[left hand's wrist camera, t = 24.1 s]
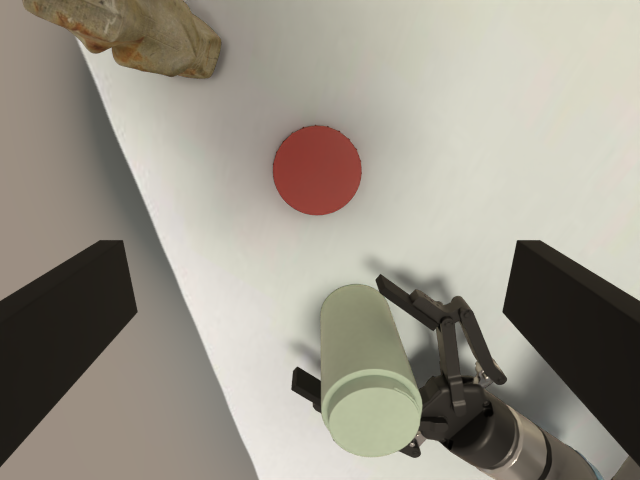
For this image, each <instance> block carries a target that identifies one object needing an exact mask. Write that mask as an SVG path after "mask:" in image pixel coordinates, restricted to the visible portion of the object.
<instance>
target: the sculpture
mask: <svg viewBox="0 0 640 480" xmlns="http://www.w3.org/2000/svg"><path fill="white" fill-rule="evenodd" d="M22 2H23V5H24V8H25V9H26V10H27V11H29V12H30V13H32V14H34V15H36V16H38V17H40V18H42V19H45V20H47V21H49V22H52V23H54V24H57V25H59V26H62V27H64V28H66V29H67V30H68V31H70V32H71V33H72V34H74V35H75V36H76V37H77V38H78V39H79V40H80V41H81V42H82V43H83V44H84V46H85V47H86V48H87V49H88V50H89V51H90V52H91V53H95V54H97V53H101V52H103V51H105V50H107V49H109V48H111V47H112V53H113V57H114V60H115V61H116V62H117V63H118V64H119V65H121V66H125V67H129V68H134V69H137V70H140V71H145V72H151V73H157V74H162V75H166V76H169V77H174V76H176V75H179V76H183V77H189V78H197V79H205V78H209V77H211V75H212V74H213V71H214V69H215V66H216V63H217V60H218V57H219V53H220V48H221V39H220V38H219V36H218V35H217V34H216V33H215V32H214V31H213V30H212V29H211V28H210V27H209V26H208V25H207V24H206V23H204V22H203V21H202V20H201V19H199V18H198V17H196V16H195V15H193V14H192V13H191V11H190V9H189V7H188V5H187V4H186V3H185V2H184V1H183V0H22Z"/></svg>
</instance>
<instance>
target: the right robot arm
mask: <svg viewBox="0 0 640 480" xmlns="http://www.w3.org/2000/svg"><path fill="white" fill-rule="evenodd" d="M376 283H377V286H378V289H379V292H380V294H382V295H383V296H384V297H386V298H387V299H389V300H390V301H392V302H393V303H394V304H396V305H397V306H399V307H400V308H401V309H403V310H404V311H406V312H407V313H409V314H410V315H411V316H413V317H414V318H416V319H417V320H418V321H420V322H421V323H423V324H424V325H426V326H427V327H428V328H430V329H431V330H433V331H434V330H435V329H436V333H437V340H438V347H439V355H440V370H441V375H440V376H437V377H434V376H432V377H431V378H430V379H429V380H428V381H427V383H426V384H425V386H424V387H422V388H420V389H419V393H420V395H421V399H422V413H421V417H420V426H419V429H418V431H417V433H416V435H415V437H414V438H413V439H412V441H411V442H410V443H409V444H408V445H406V446H405V447H404V448H402V449H401V450H399V451H400V452H402V453H404V454H406V455H408V456H411V457H413V458H417V457H419V456H420V455H421V452H420V448H419V446H420V445H421V444H422V443H423V442H424V441H425V440H426V439H430V440H436V441H439V442H440V443H441V444H442V445H443V446H445V447H446V448H447V449H448V450H449V451H450V452H452V453H453V454H455V455H456V456H458V457H460V458H461V459H463V460H465V461H466V462H468V463H469V464H471V465H473V466H475V467H476V468H477V469H479V470H480V471H482V472H483V473H485V474H487V475H488V476H490V477H492V478H493V479H495V480H604V479H603V477H602V475H601V474H600V473H599V471H598V470H597V469H596V468H595V467H594V466H593V465H592V464H591V463H590V462H588V461H587V460H586V458H585V457H584V456H583V455H581V454H580V453H579V452H578V451H576V450H574V449H573V448H572V447H570V446H568V445H566V444H564V443H563V442H561V441H560V440H558V439H557V438H555V437H554V436H552V435H551V434H549V433H548V432H546V431H545V430H543V429H542V428H540V427H539V426H537V425H536V424H534V423H533V422H531V421H530V420H529V419H527V418H526V417H524V416H523V415H521V414H520V413H518V412H517V411H516V410H514V409H513V408H511V407H510V406H508V405H506V404H505V403H504V402H503V401H501V400H500V399H498V398H497V397H496V396H494V395H493V394H491V393H490V392H488V391H487V390H485V388H486V387H487V386H489V385H490V384H491V383H493V382H495V383H496V384H498V385H502V384H504V383H505V382H506V381H507V378H506V376H505V375H504V373H503V372H502V370H501V369H500V367H499V366H498V365H497V363H496V362H495V360H494V359H492V357H491V355H490V352H489V350H488V347H487V345H486V342H485V340H484V338H483V335H482V333H481V330H480V328H479V325H478V323H477V320H476V318H475V315H474V313H473V311H472V310H471V308H470V307H469V306H468V304H467V303H466V302H465V300H464V299H463V298H462V297H460V296H456V297H454V298H453V299H452V301H451V303H449V304H447V305H443V304H442V303H441V302H439V301H437V302H435V301H434V300H433V299H431V298H430V297H428V296H427V295H426V294H424V293H423V292H422V291H420V290H416V289H415V290H414V291H413V292H412V293H411V294H410V295H409V294H407V293H406V292H405V291H403V290H402V289H400V288H399V287H398V286H396V285H395V284H394V283H392V282H391V281H389V280H388V279H387V278H385V277H384V276H382V275H381V274H380V275H379V276H378V278H377V279H376ZM458 321H459V323H460V325H461V327H462V330H463V332H464V334H465V337H466V339H467V341H468V344H469V346H470V348H471V351H472V353H473V355H474V357H475V358H476V360H477V362H476V363H475V365H476V367H475V370H476V372H477V375H476V376H475V377H473V376H461V375H460V367H459V358H458V350H457V341H456V332H455V324H454V323H456V322H458ZM291 390H292V391H294V392H296V393H298V394H299V395H301V396H303V397H304V398H306V399H308V400H309V401H311V402H313V407H314V409H315V410H316V411H318V412H320V413H321V381H320V380H319V379H317V378H315V377H314V376H312V375H310V374H309V373H307V372H305V371H304V370H302V369H301V368H299V367H296V368H295V370H294V371H293V378H292V388H291ZM321 414H322V413H321ZM333 440H334V439H333ZM611 480H640V467H639V466H638V465H637V464H636V462H635V461H634V460H633V459H632V458H631V457H630V456H628V458H627V459H626V461H625V462H624V463H623V465H622V466H621V468H620V469H619V471H618V472H617V473H616V475H615V476H614V477H613V478H612V479H611Z"/></svg>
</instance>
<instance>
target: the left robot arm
mask: <svg viewBox="0 0 640 480" xmlns="http://www.w3.org/2000/svg"><path fill="white" fill-rule="evenodd" d="M136 313H137V307H136V302H135V297H134V292H133V287H132V282H131V277H130V273H129V268H128V263H127V258H126V253H125V248H124V243H123V240H100V241H98V242H96V243H95V244H93V245H91V246H90V247H88V248H86V249H85V250H83V251H82V252H80V253H78V254H77V255H75V256H73V257H72V258H70V259H68V260H67V261H65V262H63V263H62V264H60V265H59V266H57V267H55V268H54V269H52V270H50V271H49V272H47V273H45V274H44V275H42V276H41V277H39V278H37V279H36V280H34V281H32V282H31V283H29V284H27V285H26V286H24V287H22V288H21V289H19V290H18V291H16V292H14V293H13V294H11V295H9V296H8V297H6V298H4V299H3V300H1V301H0V467H1V466H2V465H3V463H4V462H5V461H6V460H7V459H8V458H9V457H10V456H11V454H12V453H13V452H14V451H15V450H16V449H17V448H18V447H19V445H20V444H21V443H22V442H23V441H24V440H25V439H26V438H27V436H28V435H29V434H30V433H31V432H32V431H33V430H34V428H35V427H36V426H37V425H38V424H39V423H40V422H41V421H42V419H43V418H44V417H45V416H46V415H47V414H48V413H49V412H50V410H51V409H52V408H53V407H54V406H55V405H56V404H57V403H58V401H59V400H60V399H61V398H62V397H63V396H64V395H65V393H66V392H67V391H68V390H69V389H70V388H71V387H72V386H73V384H74V383H75V382H76V381H77V380H78V379H79V378H80V377H81V375H82V374H83V373H84V372H85V371H86V370H87V369H88V368H89V366H90V365H91V364H92V363H93V362H94V361H95V360H96V358H97V357H98V356H99V355H100V354H101V353H102V352H103V351H104V349H105V348H106V347H107V346H108V345H109V344H110V343H111V342H112V340H113V339H114V338H115V337H116V336H117V335H118V334H119V333H120V331H121V330H122V329H123V328H124V327H125V326H126V325H127V323H128V322H129V321H130V320H131V319H132V318H133V317H134V316H135V314H136ZM503 313H504V314H505V316H506V317H507V318H508V319H509V320H510V321H511V322H512V323H513V325H514V326H515V327H516V328H517V329H518V330H519V331H520V333H521V334H522V335H523V336H524V337H525V338H526V339H527V340H528V342H529V343H530V344H531V345H532V346H533V347H534V348H535V349H536V351H537V352H538V353H539V354H540V355H541V356H542V357H543V358H544V360H545V361H546V362H547V363H548V364H549V365H550V366H551V368H552V369H553V370H554V371H555V372H556V373H557V374H558V375H559V377H560V378H561V379H562V380H563V381H564V382H565V383H566V384H567V386H568V387H569V388H570V389H571V390H572V391H573V392H574V393H575V395H576V396H577V397H578V398H579V399H580V400H581V401H582V403H583V404H584V405H585V406H586V407H587V408H588V409H589V410H590V412H591V413H592V414H593V415H594V416H595V417H596V418H597V419H598V421H599V422H600V423H601V424H602V425H603V426H604V427H605V429H606V430H607V431H608V432H609V433H610V434H611V435H612V436H613V438H614V439H615V440H616V441H617V442H618V443H619V444H620V445H621V447H622V448H623V449H624V450H625V451H626V452H627V453H628V454H629V456H630V457H631V458H632V459H633V460H634V461H635V462H636V464H637V465H638V466H639V467H640V301H639V300H637V299H636V298H634V297H632V296H631V295H629V294H627V293H626V292H624V291H622V290H621V289H619V288H618V287H616V286H614V285H613V284H611V283H609V282H608V281H606V280H604V279H603V278H601V277H599V276H598V275H596V274H595V273H593V272H591V271H590V270H588V269H586V268H585V267H583V266H581V265H580V264H578V263H577V262H575V261H573V260H572V259H570V258H568V257H567V256H565V255H563V254H562V253H560V252H558V251H557V250H555V249H554V248H552V247H550V246H549V245H547V244H545V243H544V242H542V241H540V240H517V243H516V248H515V253H514V258H513V263H512V268H511V273H510V277H509V282H508V287H507V292H506V297H505V302H504V307H503Z"/></svg>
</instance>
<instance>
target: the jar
mask: <svg viewBox="0 0 640 480" xmlns="http://www.w3.org/2000/svg"><path fill="white" fill-rule="evenodd" d="M320 323H321V413H322V418H323V421H324V424H325V425H326V427H327V429H328V430H329V431H330V434H331V436H332V438H333V439H334V441H335V442H336V443H337V444H338V445H339V446H340V447H341V448H343V449H344V450H346V451H347V452H349V453H352V454H355V455H358V456H363V457H380V456H385V455H389V454H392V453H395V452H397V451H399V450H401V449H402V448H404V447H405V446H406V445H408V444H409V443H410V442H411V441H412V439H413V438H414V437H415V435H416V433H417V431H418V429H419V426H420V417H421V413H422V399H421V395H420V393H419V390H418V387H417V384H416V381H415V378H414V376H413V373H412V370H411V367H410V364H409V362H408V359H407V356H406V353H405V350H404V348H403V345H402V342H401V339H400V336H399V334H398V331H397V328H396V325H395V322H394V320H393V317H392V314H391V311H390V308H389V305H388V303H387V301H386V299H385V298H384V296H383V295H382V294H380V293H379V292H378V291H377V290H375V289H373V288H371V287H369V286H365V285H357V284H355V285H347V286H344V287H341V288H339V289H337V290H335V291H334V292H333V293H331V294H330V295H329V296H328V297H327V299H326V300H325V302H324V303H323V306H322V308H321V315H320Z"/></svg>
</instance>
